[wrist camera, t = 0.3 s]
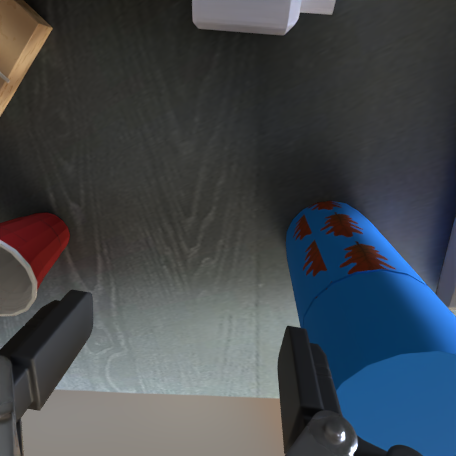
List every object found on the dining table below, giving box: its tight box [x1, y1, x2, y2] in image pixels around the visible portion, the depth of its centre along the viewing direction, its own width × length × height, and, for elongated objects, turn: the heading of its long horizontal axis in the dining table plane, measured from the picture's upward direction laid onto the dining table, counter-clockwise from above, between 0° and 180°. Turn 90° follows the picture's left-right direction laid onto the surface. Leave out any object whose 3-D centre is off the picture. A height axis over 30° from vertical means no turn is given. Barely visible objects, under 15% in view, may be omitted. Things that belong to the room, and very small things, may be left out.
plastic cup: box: [0, 213, 70, 316], centre depth 39 cm, size 11×11×12 cm
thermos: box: [286, 201, 456, 456], centre depth 30 cm, size 11×11×25 cm
